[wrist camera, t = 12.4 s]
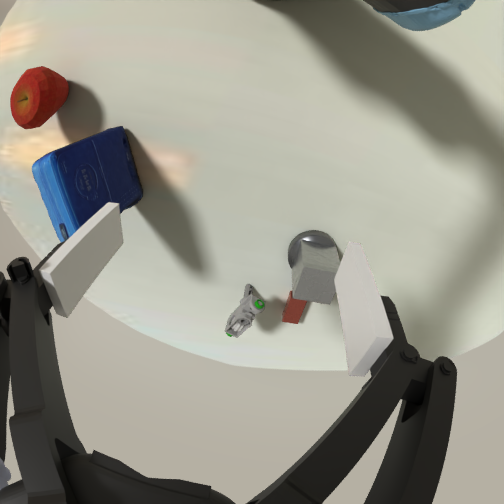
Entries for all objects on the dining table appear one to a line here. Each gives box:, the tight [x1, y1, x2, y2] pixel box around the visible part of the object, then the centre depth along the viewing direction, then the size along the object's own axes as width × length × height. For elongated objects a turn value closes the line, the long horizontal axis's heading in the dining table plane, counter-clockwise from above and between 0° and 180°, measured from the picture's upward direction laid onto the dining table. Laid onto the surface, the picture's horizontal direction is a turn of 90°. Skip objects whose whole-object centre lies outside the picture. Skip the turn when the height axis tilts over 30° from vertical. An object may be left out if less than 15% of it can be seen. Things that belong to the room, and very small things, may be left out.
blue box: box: [32, 126, 143, 242], centre depth 36 cm, size 14×5×20 cm, turn 10°
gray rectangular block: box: [292, 239, 340, 304], centre depth 46 cm, size 6×6×8 cm
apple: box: [10, 66, 69, 129], centre depth 32 cm, size 11×11×12 cm
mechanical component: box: [225, 284, 265, 338], centre depth 53 cm, size 3×10×10 cm, turn 146°
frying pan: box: [282, 230, 338, 324], centre depth 51 cm, size 22×9×8 cm, turn 170°
